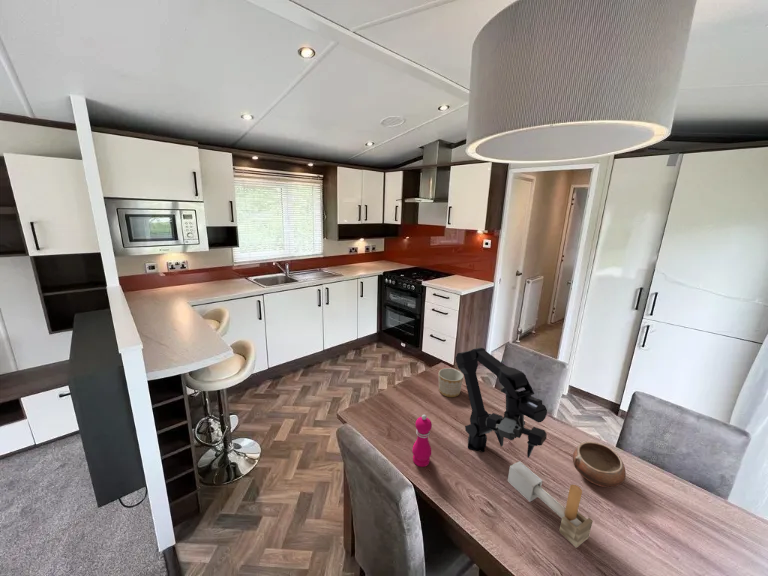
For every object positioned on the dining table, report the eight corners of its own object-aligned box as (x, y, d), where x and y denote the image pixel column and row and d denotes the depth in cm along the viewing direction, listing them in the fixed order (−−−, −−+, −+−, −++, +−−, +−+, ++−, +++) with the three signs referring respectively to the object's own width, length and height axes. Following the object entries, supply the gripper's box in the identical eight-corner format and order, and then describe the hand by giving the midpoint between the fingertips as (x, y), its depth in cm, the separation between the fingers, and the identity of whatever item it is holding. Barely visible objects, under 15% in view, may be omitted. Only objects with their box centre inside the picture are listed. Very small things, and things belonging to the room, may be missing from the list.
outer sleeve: (507, 481, 109) (509, 466, 107) (517, 475, 111) (519, 461, 109) (529, 502, 101) (532, 486, 99) (539, 495, 103) (542, 480, 102)
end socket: (559, 531, 92) (562, 514, 90) (571, 522, 95) (575, 505, 93) (576, 548, 88) (580, 530, 86) (588, 537, 90) (592, 520, 89)
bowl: (563, 472, 113) (567, 449, 111) (580, 453, 122) (585, 431, 120) (613, 504, 101) (619, 479, 99) (628, 480, 110) (634, 457, 108)
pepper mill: (430, 469, 113) (433, 423, 108) (410, 466, 114) (413, 420, 109) (431, 454, 120) (434, 410, 115) (412, 451, 121) (415, 407, 116)
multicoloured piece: (527, 490, 103) (533, 459, 99) (533, 486, 104) (539, 456, 101) (575, 533, 89) (583, 499, 86) (581, 529, 90) (589, 495, 87)
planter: (436, 384, 168) (437, 367, 166) (459, 386, 167) (461, 368, 165) (438, 398, 156) (439, 379, 153) (463, 400, 155) (465, 381, 152)
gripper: (478, 408, 105) (478, 451, 107) (535, 428, 92) (535, 476, 94) (492, 397, 113) (493, 437, 115) (547, 413, 100) (546, 458, 102)
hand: (514, 451), depth 106 cm, fingers open, 9 cm apart
